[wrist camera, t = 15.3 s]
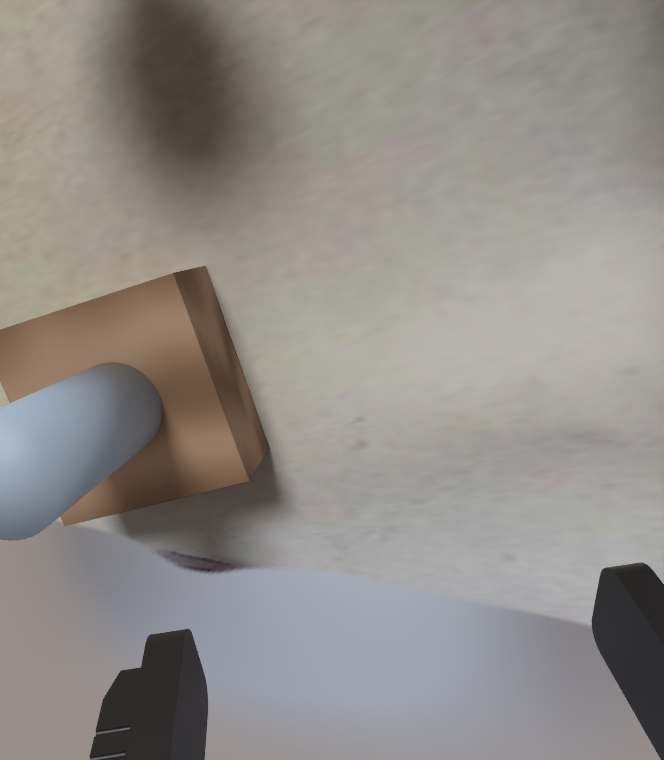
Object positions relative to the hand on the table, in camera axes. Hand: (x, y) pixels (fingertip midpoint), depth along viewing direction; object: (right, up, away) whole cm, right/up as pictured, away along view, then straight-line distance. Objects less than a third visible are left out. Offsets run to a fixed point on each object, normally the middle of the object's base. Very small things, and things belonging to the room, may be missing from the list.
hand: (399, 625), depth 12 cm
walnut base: (-13, +4, +27) cm, 30 cm away
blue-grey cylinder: (-13, +3, +22) cm, 26 cm away
